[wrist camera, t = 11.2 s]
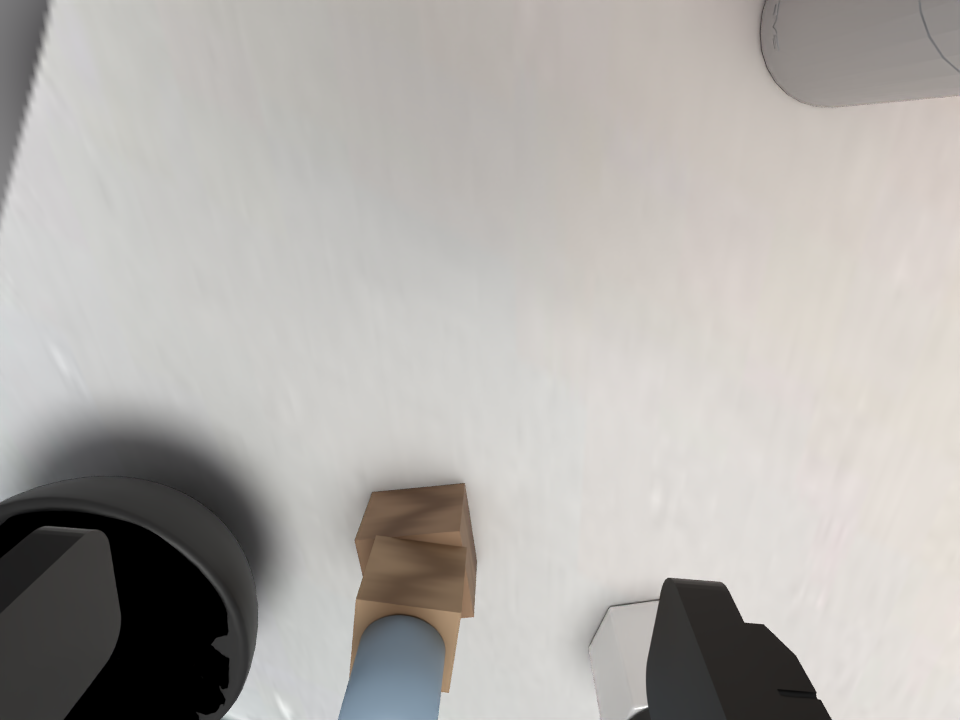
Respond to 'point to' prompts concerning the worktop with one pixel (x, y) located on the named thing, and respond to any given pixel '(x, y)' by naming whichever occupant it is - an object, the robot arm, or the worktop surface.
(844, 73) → the robot arm
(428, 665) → the blue grey cylinder
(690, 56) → the worktop surface
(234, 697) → the coal bowl
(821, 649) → the worktop surface
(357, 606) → the tower mid
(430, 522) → the tower base
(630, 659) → the jar
